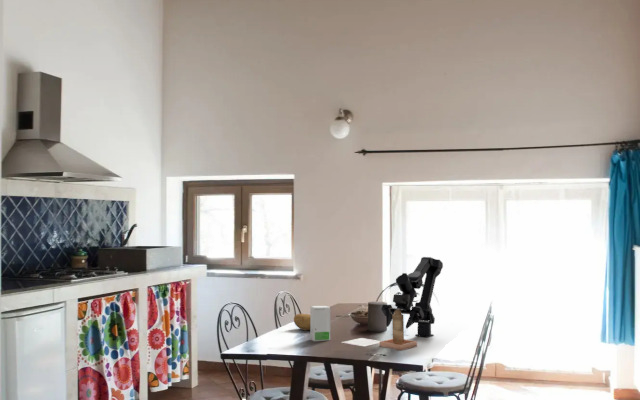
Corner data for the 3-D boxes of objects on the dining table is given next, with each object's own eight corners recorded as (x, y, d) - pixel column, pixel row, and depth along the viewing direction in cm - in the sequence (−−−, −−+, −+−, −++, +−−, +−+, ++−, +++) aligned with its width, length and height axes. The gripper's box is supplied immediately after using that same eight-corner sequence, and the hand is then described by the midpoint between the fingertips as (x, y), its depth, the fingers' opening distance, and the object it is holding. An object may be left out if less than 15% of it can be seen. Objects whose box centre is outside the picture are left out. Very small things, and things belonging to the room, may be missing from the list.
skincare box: (313, 342, 295) (313, 307, 296) (309, 339, 302) (309, 305, 302) (331, 340, 298) (330, 306, 298) (326, 338, 304) (326, 305, 305)
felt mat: (361, 338, 302) (361, 337, 302) (384, 342, 292) (384, 341, 292) (340, 343, 292) (340, 342, 292) (364, 347, 282) (364, 346, 282)
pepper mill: (393, 343, 286) (392, 308, 286) (404, 343, 285) (403, 308, 285) (392, 345, 281) (391, 310, 282) (403, 346, 280) (402, 310, 281)
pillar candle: (364, 330, 323) (364, 300, 323) (372, 327, 331) (372, 298, 332) (382, 332, 318) (382, 302, 318) (390, 329, 327) (390, 299, 327)
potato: (315, 332, 320) (315, 316, 320) (290, 330, 326) (290, 314, 326) (323, 329, 329) (323, 313, 329) (299, 327, 335) (298, 312, 335)
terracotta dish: (395, 342, 291) (395, 338, 291) (417, 346, 283) (416, 341, 283) (379, 346, 283) (379, 341, 283) (400, 350, 275) (400, 345, 275)
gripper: (382, 286, 292) (371, 314, 283) (420, 288, 282) (410, 317, 273) (390, 301, 299) (379, 329, 289) (428, 304, 289) (418, 333, 279)
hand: (396, 327), depth 282 cm, fingers open, 9 cm apart
